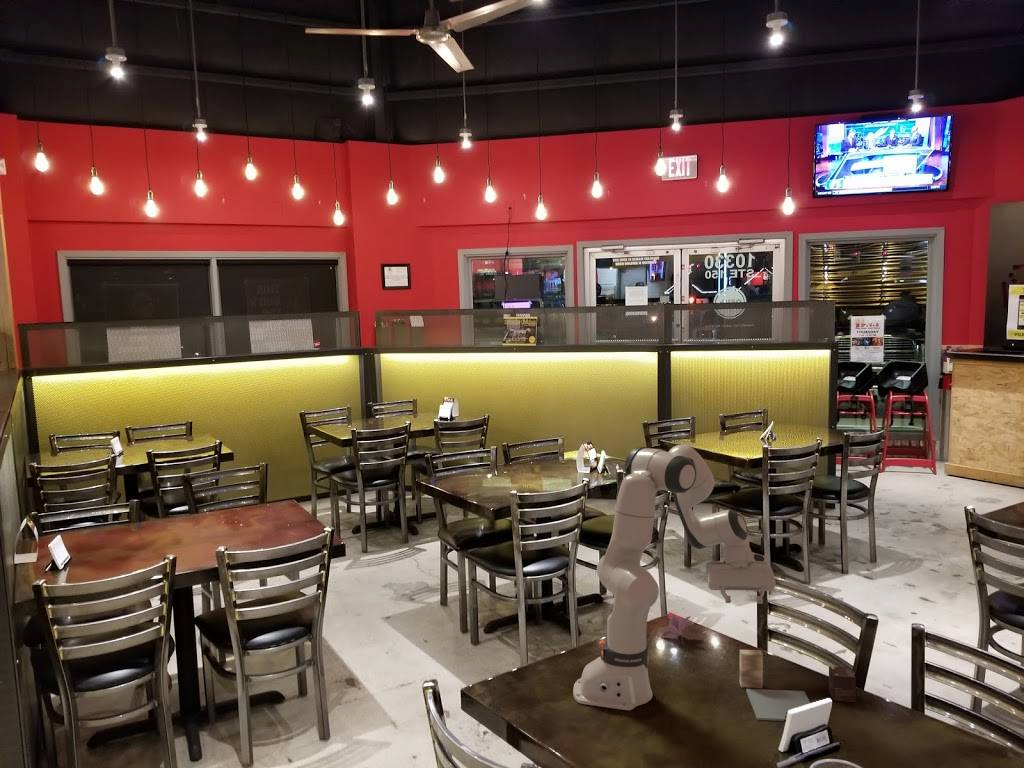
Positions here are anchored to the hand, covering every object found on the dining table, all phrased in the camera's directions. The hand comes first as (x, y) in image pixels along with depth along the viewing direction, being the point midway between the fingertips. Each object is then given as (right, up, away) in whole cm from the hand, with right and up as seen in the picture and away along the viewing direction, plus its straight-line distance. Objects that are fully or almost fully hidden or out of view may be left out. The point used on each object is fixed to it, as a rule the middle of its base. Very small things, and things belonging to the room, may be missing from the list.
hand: (744, 602), depth 229 cm
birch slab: (-1, -21, -11) cm, 24 cm away
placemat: (+3, -22, -23) cm, 32 cm away
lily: (-16, -19, +21) cm, 32 cm away
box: (+22, -21, -18) cm, 36 cm away
